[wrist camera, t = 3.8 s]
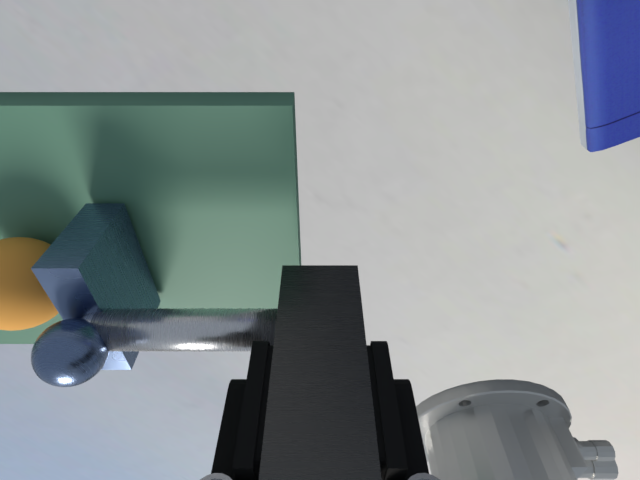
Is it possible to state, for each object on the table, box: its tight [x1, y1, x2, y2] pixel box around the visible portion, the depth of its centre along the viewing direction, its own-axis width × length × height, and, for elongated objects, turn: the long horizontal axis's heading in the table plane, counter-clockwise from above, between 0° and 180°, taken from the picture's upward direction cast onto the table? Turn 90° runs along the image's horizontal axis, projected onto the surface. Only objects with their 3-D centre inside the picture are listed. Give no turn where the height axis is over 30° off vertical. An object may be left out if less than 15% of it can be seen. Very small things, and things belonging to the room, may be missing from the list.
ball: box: [0, 237, 58, 331], centre depth 17 cm, size 4×4×4 cm
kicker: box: [31, 203, 382, 480], centre depth 14 cm, size 12×6×10 cm, turn 90°
